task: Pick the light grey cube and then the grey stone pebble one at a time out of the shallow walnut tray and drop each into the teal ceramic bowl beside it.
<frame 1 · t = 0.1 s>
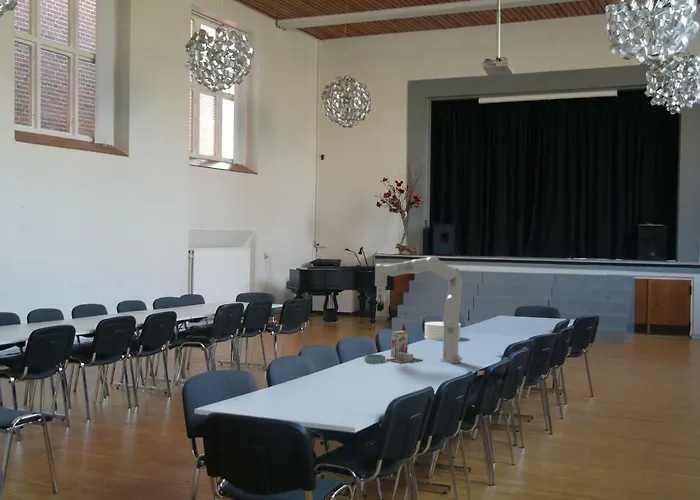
hand: (380, 310, 481), 31 cm above the table, tool pointing down, fingers open, 9 cm apart
bowl: (374, 361, 470), on the table
plate stack: (442, 338, 588), on the table
pebble b: (408, 361, 470), resting on tray
tray: (404, 361, 473), on the table
light grey cube: (400, 360, 475), resting on tray
candy bar box: (399, 356, 492), on the table
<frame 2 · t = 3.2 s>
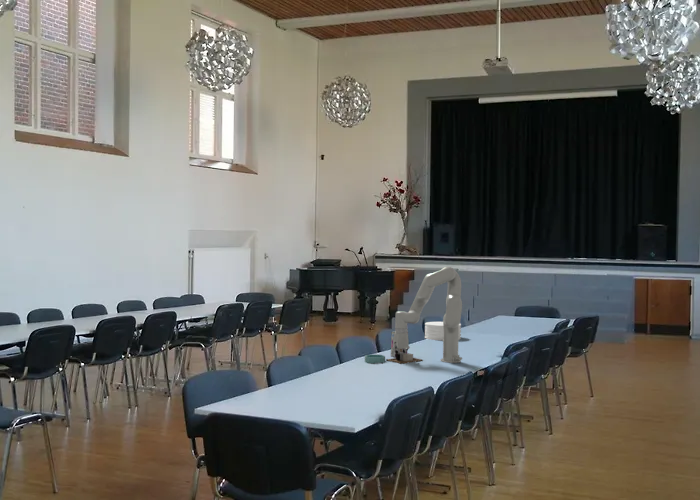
hand: (400, 359, 475), 1 cm above the table, tool pointing down, fingers closed on light grey cube, 4 cm apart
light grey cube: (400, 360, 475), resting on tray, touching gripper
everything else where it was.
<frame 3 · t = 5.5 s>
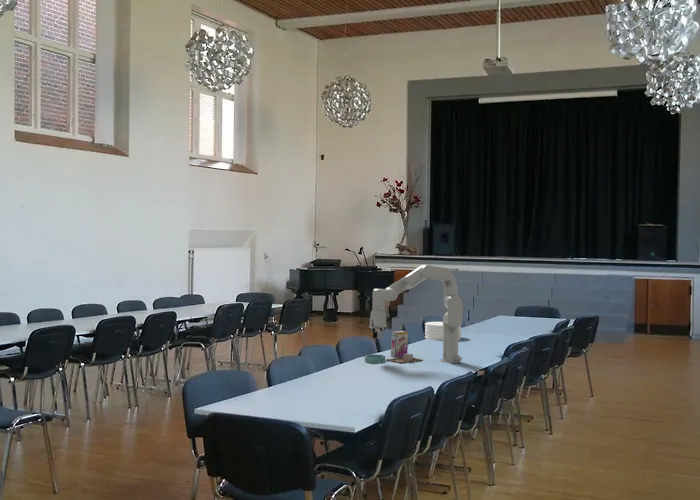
hand: (377, 337, 468), 15 cm above the table, tool pointing down, fingers closed on light grey cube, 4 cm apart
light grey cube: (377, 338, 468), point 15 cm above the table, touching gripper
everything else where it was.
when the fingers open (4 cm above the table, at t = 7.8 s): light grey cube drops 3 cm, resting on bowl.
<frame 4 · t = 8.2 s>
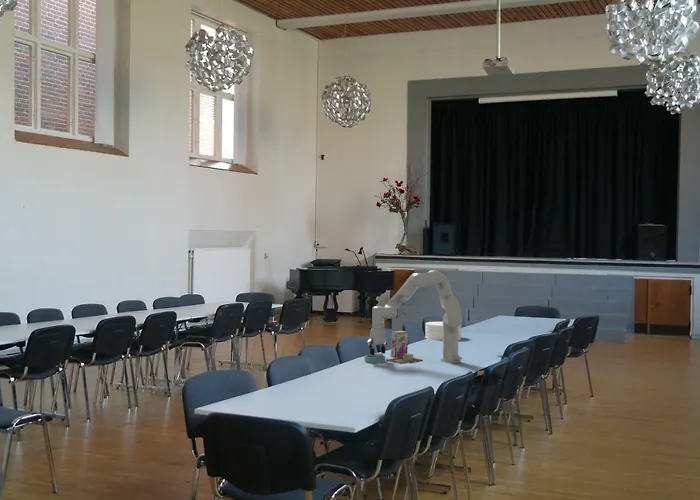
hand: (377, 353, 468), 5 cm above the table, tool pointing down, fingers open, 8 cm apart
light grey cube: (377, 361, 468), point 1 cm above the table, touching bowl
everything else where it was.
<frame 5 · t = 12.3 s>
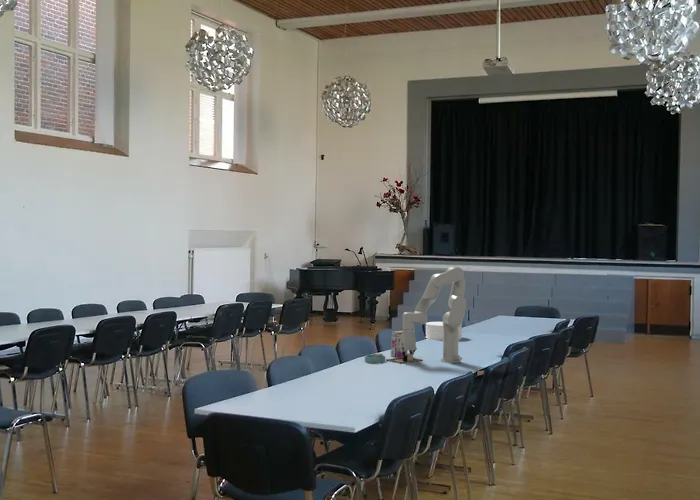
hand: (408, 360, 470), 1 cm above the table, tool pointing down, fingers closed on pebble b, 4 cm apart
pebble b: (408, 361, 470), resting on tray, touching gripper
everything else where it was.
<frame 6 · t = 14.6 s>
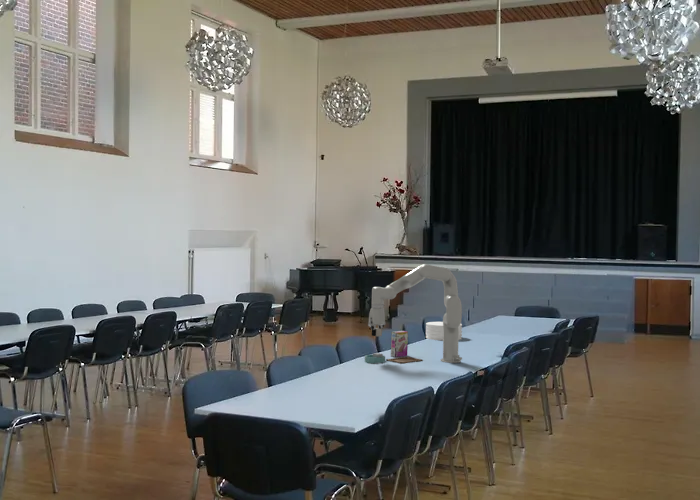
hand: (376, 335, 471), 16 cm above the table, tool pointing down, fingers closed on pebble b, 4 cm apart
pebble b: (376, 335, 471), point 16 cm above the table, touching gripper
everything else where it was.
when the fingers open (4 cm above the table, at t = 17.2 s): pebble b drops 3 cm, resting on bowl.
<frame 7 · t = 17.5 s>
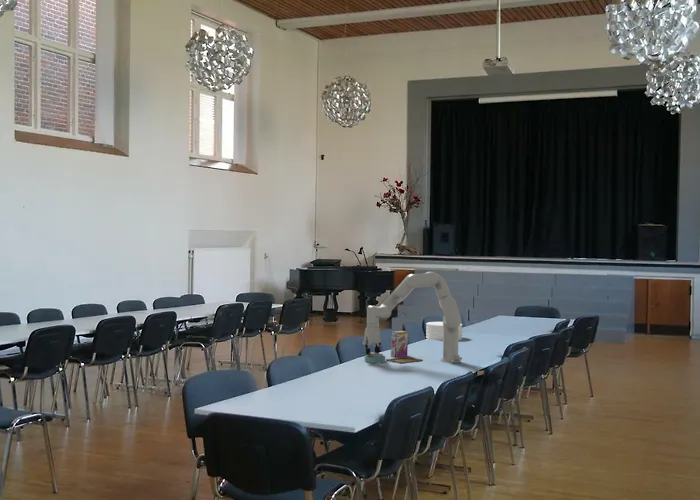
hand: (372, 353, 472), 5 cm above the table, tool pointing down, fingers open, 6 cm apart
pebble b: (372, 360, 472), point 1 cm above the table, touching bowl
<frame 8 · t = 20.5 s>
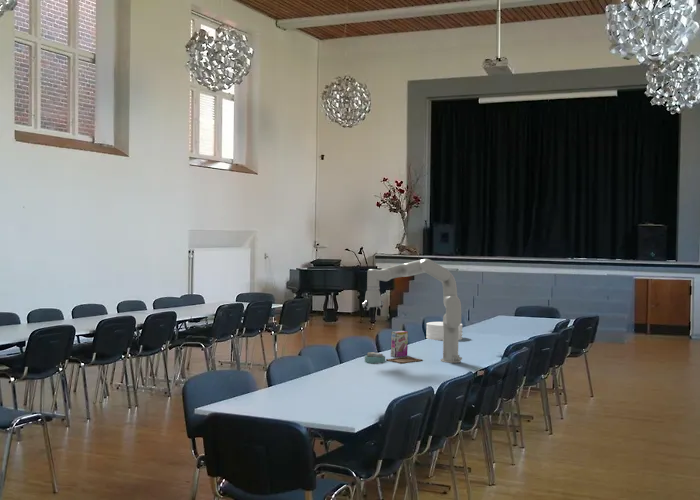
hand: (372, 316, 471), 28 cm above the table, tool pointing down, fingers open, 9 cm apart
at the end: light grey cube inside the target area on the bowl (2.5 cm from its centre), point 0.6 cm above the bowl's base; pebble b inside the target area on the bowl (2.5 cm from its centre), point 0.6 cm above the bowl's base; the gripper is holding nothing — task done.
